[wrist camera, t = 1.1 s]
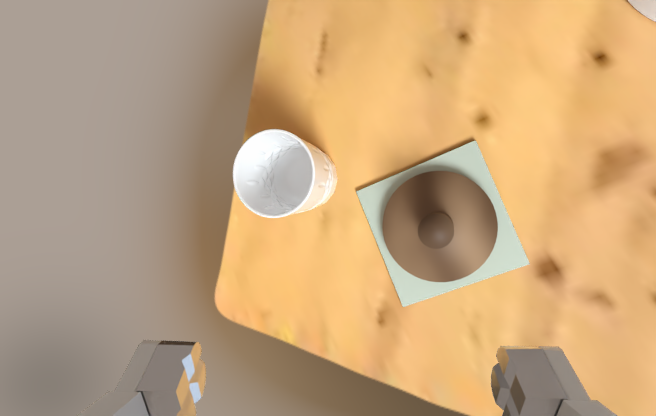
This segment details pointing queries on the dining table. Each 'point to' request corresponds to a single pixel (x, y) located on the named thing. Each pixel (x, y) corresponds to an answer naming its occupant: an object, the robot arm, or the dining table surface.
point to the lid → (440, 226)
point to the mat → (474, 167)
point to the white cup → (282, 174)
